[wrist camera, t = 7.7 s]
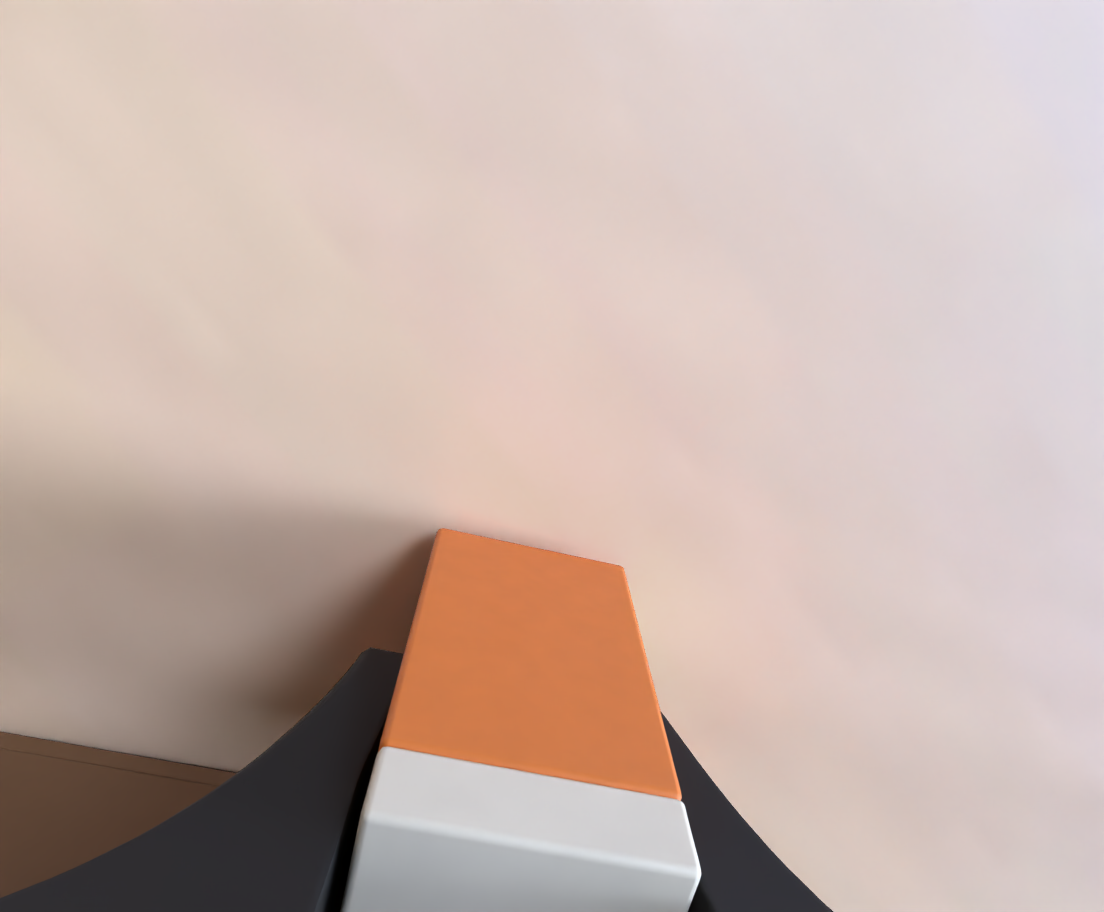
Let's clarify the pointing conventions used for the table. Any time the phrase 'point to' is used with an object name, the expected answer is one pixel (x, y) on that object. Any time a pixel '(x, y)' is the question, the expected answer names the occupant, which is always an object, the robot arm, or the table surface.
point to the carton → (82, 803)
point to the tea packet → (522, 748)
